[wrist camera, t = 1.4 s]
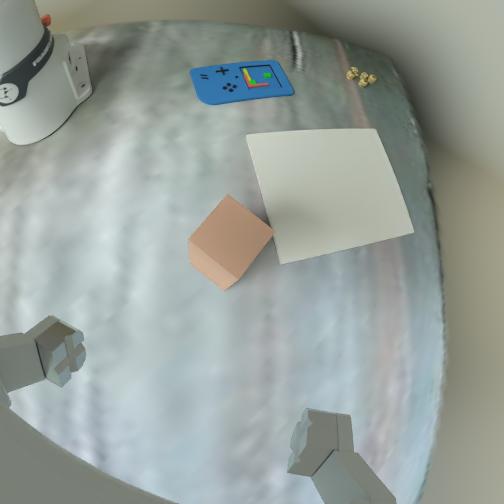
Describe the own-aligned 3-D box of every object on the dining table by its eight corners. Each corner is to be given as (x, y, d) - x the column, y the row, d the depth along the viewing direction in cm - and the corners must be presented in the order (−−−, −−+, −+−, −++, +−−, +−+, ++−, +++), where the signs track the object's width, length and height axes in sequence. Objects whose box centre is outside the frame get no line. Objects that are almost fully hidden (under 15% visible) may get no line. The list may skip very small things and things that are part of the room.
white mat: (245, 137, 40) (246, 134, 39) (373, 131, 45) (375, 128, 44) (280, 265, 37) (282, 264, 36) (411, 233, 42) (414, 232, 41)
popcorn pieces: (373, 83, 49) (378, 77, 47) (364, 94, 47) (368, 88, 45) (352, 67, 48) (356, 61, 47) (342, 77, 47) (346, 71, 45)
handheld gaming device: (189, 67, 40) (277, 58, 43) (189, 72, 41) (275, 62, 44) (201, 104, 39) (296, 92, 42) (201, 109, 40) (293, 96, 43)
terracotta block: (190, 264, 35) (188, 239, 23) (216, 232, 36) (227, 193, 25) (224, 291, 35) (238, 279, 23) (249, 258, 36) (275, 231, 25)
